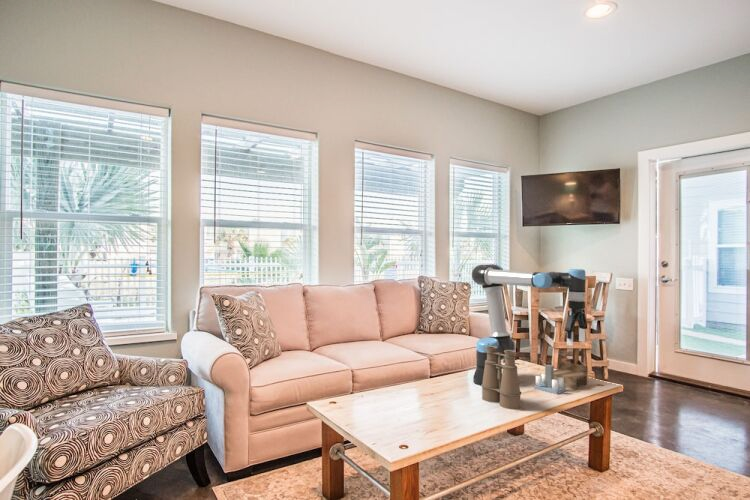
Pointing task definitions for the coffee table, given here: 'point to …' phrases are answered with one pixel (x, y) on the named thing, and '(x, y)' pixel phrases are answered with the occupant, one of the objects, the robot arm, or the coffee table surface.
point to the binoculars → (501, 379)
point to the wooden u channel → (571, 374)
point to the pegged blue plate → (549, 381)
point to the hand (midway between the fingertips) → (576, 343)
